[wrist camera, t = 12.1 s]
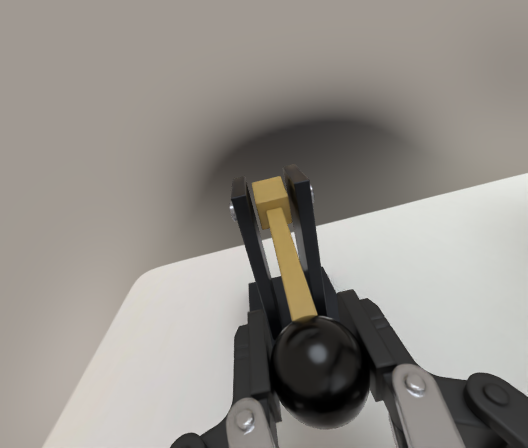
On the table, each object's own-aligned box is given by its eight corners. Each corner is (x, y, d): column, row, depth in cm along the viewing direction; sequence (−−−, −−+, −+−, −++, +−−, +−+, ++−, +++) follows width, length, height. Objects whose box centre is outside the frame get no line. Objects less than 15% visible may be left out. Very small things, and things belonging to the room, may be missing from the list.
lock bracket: (373, 375, 18) (372, 192, 11) (256, 401, 18) (186, 236, 11) (323, 273, 29) (307, 149, 22) (250, 290, 29) (212, 172, 22)
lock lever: (383, 426, 9) (401, 400, 6) (287, 448, 9) (270, 429, 6) (293, 205, 20) (288, 166, 17) (251, 215, 20) (240, 177, 17)
